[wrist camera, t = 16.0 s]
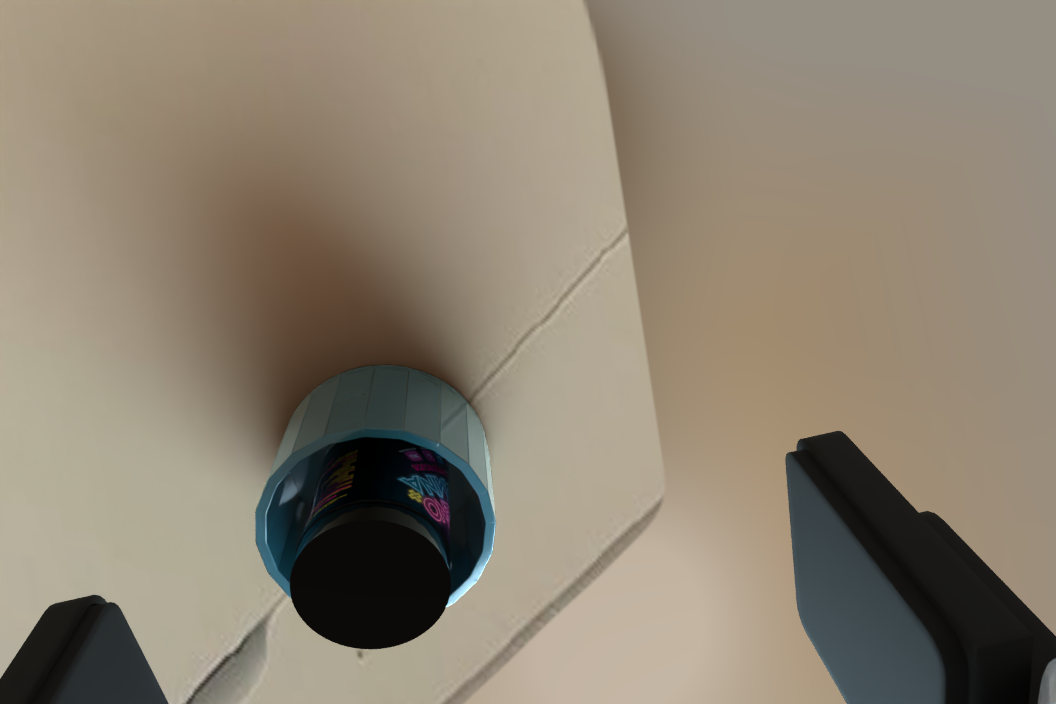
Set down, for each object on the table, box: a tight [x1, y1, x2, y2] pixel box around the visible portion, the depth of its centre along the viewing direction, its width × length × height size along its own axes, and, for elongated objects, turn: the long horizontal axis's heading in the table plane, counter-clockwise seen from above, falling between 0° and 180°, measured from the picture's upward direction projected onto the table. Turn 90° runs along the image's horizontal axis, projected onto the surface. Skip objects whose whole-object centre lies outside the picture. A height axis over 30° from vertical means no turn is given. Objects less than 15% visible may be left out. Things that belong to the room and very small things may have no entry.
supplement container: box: [290, 437, 452, 649], centre depth 39 cm, size 7×7×10 cm
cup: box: [255, 365, 496, 607], centre depth 41 cm, size 11×11×7 cm
